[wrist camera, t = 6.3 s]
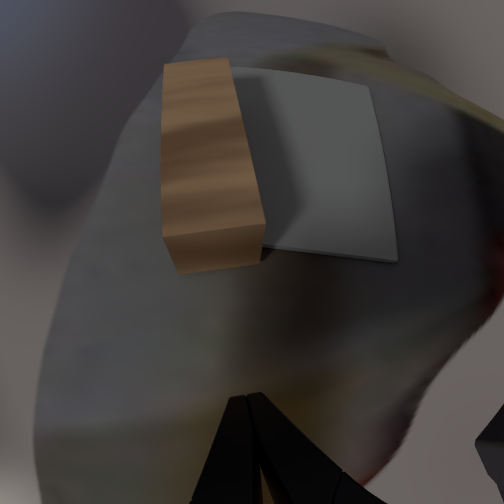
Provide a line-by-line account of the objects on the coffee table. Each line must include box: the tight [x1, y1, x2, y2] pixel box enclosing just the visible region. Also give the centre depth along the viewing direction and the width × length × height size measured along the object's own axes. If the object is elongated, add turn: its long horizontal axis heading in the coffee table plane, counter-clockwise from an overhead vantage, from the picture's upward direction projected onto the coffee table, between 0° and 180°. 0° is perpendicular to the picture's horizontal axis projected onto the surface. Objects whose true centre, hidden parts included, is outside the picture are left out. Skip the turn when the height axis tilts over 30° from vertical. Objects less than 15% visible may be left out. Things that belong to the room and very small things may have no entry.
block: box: [161, 57, 266, 275], centre depth 19 cm, size 4×4×14 cm
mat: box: [230, 66, 398, 263], centre depth 23 cm, size 18×14×1 cm
